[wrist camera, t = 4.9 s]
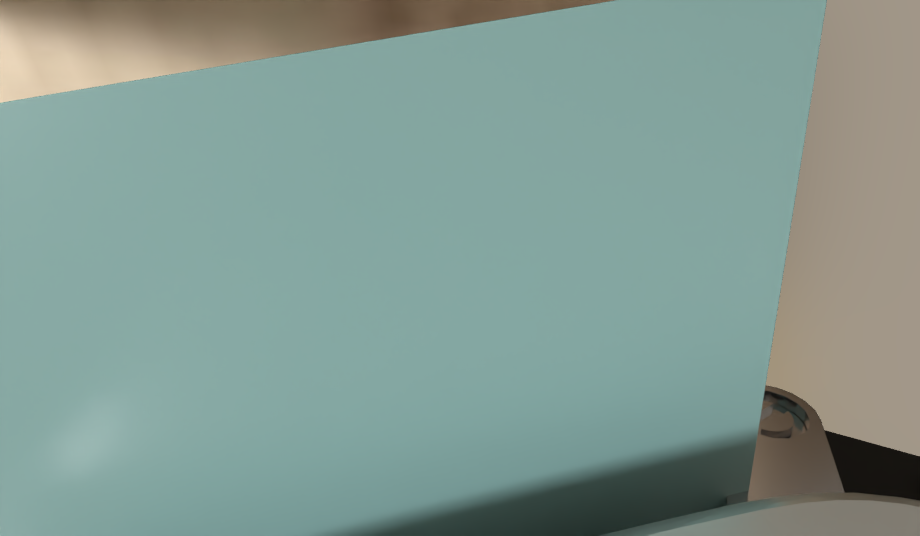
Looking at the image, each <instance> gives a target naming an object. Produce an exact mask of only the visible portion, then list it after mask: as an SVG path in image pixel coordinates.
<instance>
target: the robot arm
mask: <svg viewBox="0 0 920 536" xmlns="http://www.w3.org/2000/svg"><path fill="white" fill-rule="evenodd" d="M600 536H920V456H916V455H912V454H908V453H905V452H901V451H897V450H894V449H891V448H887V447H883V446H880V445H876V444H872V443H869V442H865V441H861V440H858V439H854V438H851V437H847V436H843V435H840V434H836V433H832V432H829V431H825V430H824V428H823V425H822V422H821V419H820V418H819V416H818V414H817V412H816V411H815V410H814V409H813V408H812V407H811V406H810V405H809V404H808V403H807V402H806V401H804V400H803V399H801V398H799V397H797V396H796V395H794V394H792V393H790V392H787V391H785V390H782V389H779V388H776V387H771V386H766V385H765V391H764V398H763V404H762V410H761V416H760V423H759V429H758V435H757V441H756V448H755V454H754V460H753V466H752V473H751V479H750V485H749V490H748V491H744V492H740V493H736V494H732V495H728V496H727V497H726V504H725V506H723V507H719V508H714V509H710V510H706V511H701V512H697V513H692V514H688V515H684V516H679V517H675V518H671V519H666V520H662V521H658V522H653V523H649V524H645V525H640V526H636V527H632V528H628V529H624V530H620V531H616V532H612V533H608V534H604V535H600Z"/></svg>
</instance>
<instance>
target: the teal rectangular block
mask: <svg viewBox="0 0 920 536" xmlns="http://www.w3.org/2000/svg"><path fill="white" fill-rule="evenodd" d="M826 2H827V0H615V1H609V2H603V3H597V4H591V5H585V6H579V7H573V8H567V9H561V10H555V11H549V12H543V13H537V14H531V15H525V16H519V17H513V18H507V19H501V20H495V21H489V22H483V23H477V24H471V25H465V26H459V27H453V28H447V29H441V30H435V31H429V32H423V33H417V34H411V35H405V36H399V37H393V38H387V39H381V40H375V41H369V42H363V43H357V44H351V45H345V46H339V47H333V48H327V49H321V50H315V51H309V52H303V53H297V54H291V55H285V56H279V57H273V58H267V59H261V60H255V61H249V62H243V63H237V64H231V65H225V66H219V67H213V68H207V69H201V70H195V71H189V72H183V73H177V74H171V75H165V76H159V77H153V78H147V79H141V80H135V81H129V82H123V83H117V84H111V85H105V86H99V87H93V88H87V89H81V90H75V91H69V92H63V93H57V94H51V95H45V96H39V97H33V98H27V99H21V100H15V101H9V102H3V103H0V536H600V535H604V534H608V533H612V532H616V531H620V530H624V529H628V528H632V527H636V526H640V525H645V524H649V523H653V522H658V521H662V520H666V519H671V518H675V517H679V516H684V515H688V514H692V513H697V512H701V511H706V510H710V509H714V508H719V507H723V506H725V504H726V497H727V496H728V495H732V494H736V493H740V492H744V491H748V490H749V485H750V479H751V473H752V466H753V460H754V454H755V448H756V441H757V435H758V429H759V423H760V416H761V410H762V404H763V398H764V391H765V385H766V379H767V371H768V366H769V360H770V353H771V347H772V341H773V334H774V329H775V321H776V316H777V310H778V303H779V297H780V291H781V285H782V278H783V272H784V266H785V260H786V253H787V247H788V241H789V235H790V228H791V222H792V216H793V209H794V203H795V197H796V190H797V184H798V178H799V171H800V165H801V159H802V153H803V147H804V140H805V134H806V128H807V122H808V115H809V109H810V103H811V97H812V90H813V84H814V78H815V72H816V65H817V59H818V53H819V46H820V40H821V34H822V27H823V21H824V15H825V9H826Z"/></svg>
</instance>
